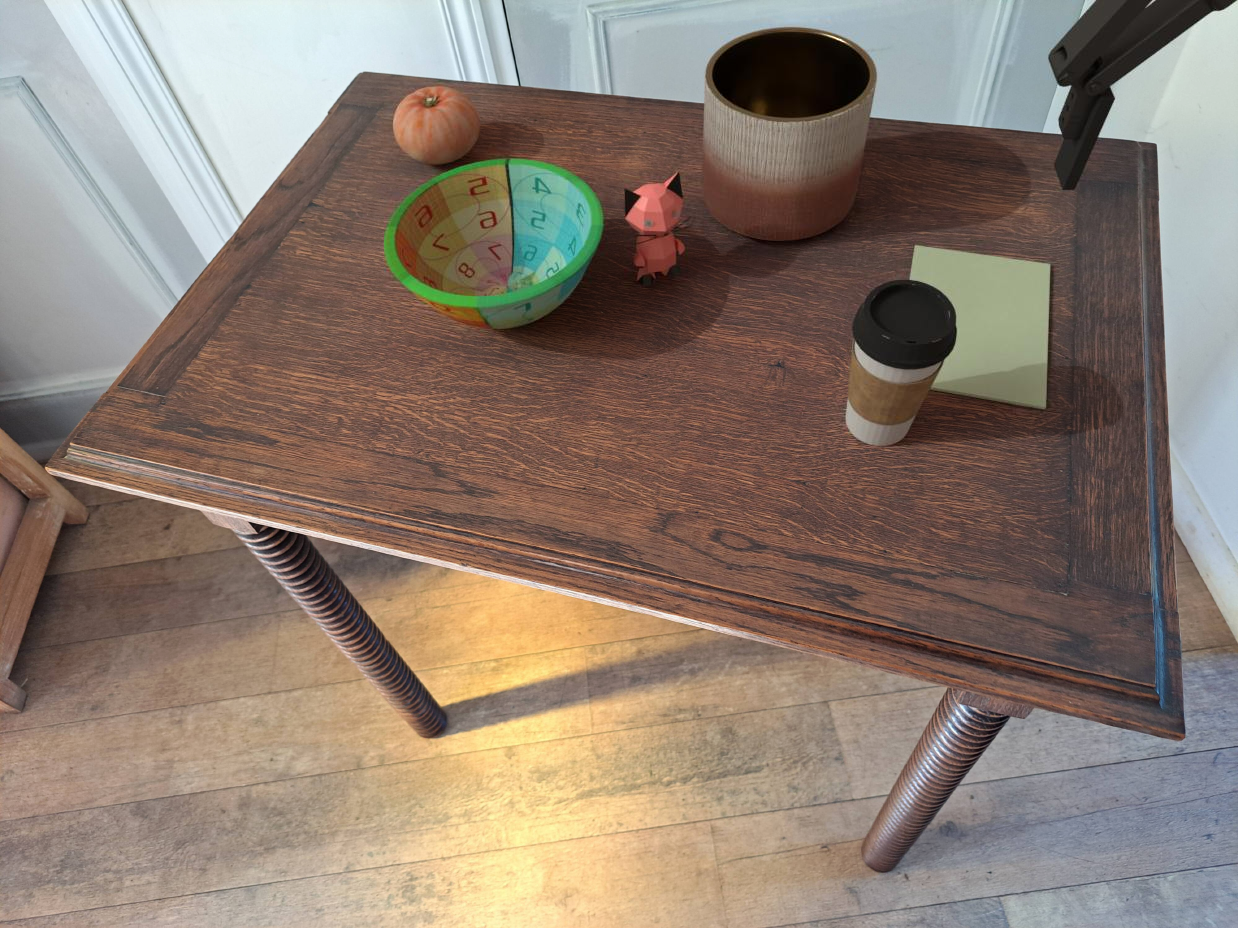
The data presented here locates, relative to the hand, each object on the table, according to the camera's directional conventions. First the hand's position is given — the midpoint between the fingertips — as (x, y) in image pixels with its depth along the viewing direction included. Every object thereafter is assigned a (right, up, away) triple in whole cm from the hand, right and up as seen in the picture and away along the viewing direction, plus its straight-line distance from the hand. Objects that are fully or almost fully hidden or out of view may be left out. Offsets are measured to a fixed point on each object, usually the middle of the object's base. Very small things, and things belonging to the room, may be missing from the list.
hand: (1172, 176), depth 56 cm
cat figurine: (-32, +3, +39) cm, 51 cm away
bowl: (-48, -1, +38) cm, 62 cm away
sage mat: (0, -4, +32) cm, 32 cm away
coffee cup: (-12, -15, +25) cm, 32 cm away
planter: (-18, +13, +45) cm, 50 cm away
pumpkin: (-59, +21, +54) cm, 83 cm away
